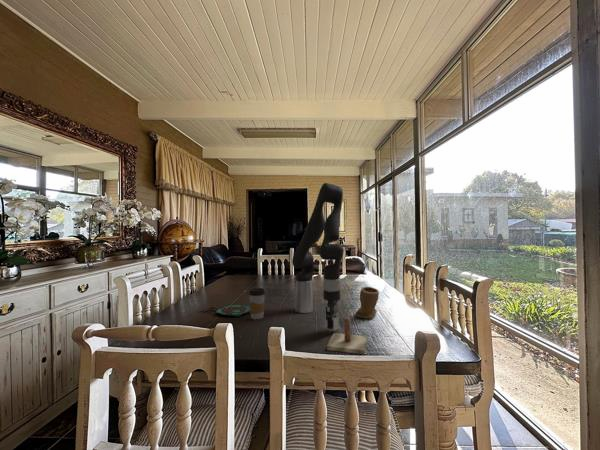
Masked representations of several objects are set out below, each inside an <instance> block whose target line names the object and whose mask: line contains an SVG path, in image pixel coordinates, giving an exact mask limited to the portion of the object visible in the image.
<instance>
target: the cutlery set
mask: <svg viewBox="0 0 600 450" xmlns="http://www.w3.org/2000/svg"><path fill="white" fill-rule="evenodd" d="M241 306H243V307H246V308H247V309H246V311H245V312H246V313H245V312H242V313H237V312H240V310H235V311H234V310H233V312H236V313H232V314H233V315H232V314H228V315H225V314H226V313H222V311H221V310H222V309H224V308H228V307H241ZM223 307H224V308H222V307H221V309H219V308H218V310H216V309H215V310H216V311H215V314H218V315H221V316H231V317H232V316H235V317H240V316H242V315H246V314H249V313H251V312H250V305H242V304H235V305H234V304H233V305H232V304H231V305H226V306H223ZM221 313H222V314H221Z"/></svg>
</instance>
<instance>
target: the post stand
mask: <svg viewBox="0 0 600 450" xmlns="http://www.w3.org/2000/svg"><path fill="white" fill-rule="evenodd" d="M343 319H344V320H343V322H344V324H343V325H344V330H343V331H344V333H339V332H338V333H337V332H333V334H332V336H331V337H330V339H329V341H328V343H327V344H326V351H334V352H341V353H350V354H351V353H352V354H358V355H359V354H360V355H364V354H365V352H366V346H367V342H368V336H366V335H359V334H358V335H357V334H351V331H352V330H351V317H347V316H345V317H344V318H343Z"/></svg>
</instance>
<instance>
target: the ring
mask: <svg viewBox="0 0 600 450" xmlns="http://www.w3.org/2000/svg"><path fill="white" fill-rule="evenodd" d="M329 317H330V315H329ZM339 327H340V316H339V315H333V329H328V320H326V314H325V316H324V328H325V329H326V330H330V331H335V330H336V331H337V330H339Z"/></svg>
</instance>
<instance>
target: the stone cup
mask: <svg viewBox="0 0 600 450" xmlns="http://www.w3.org/2000/svg"><path fill="white" fill-rule="evenodd" d="M379 295H380V293H379V290H378V289H377V288H374V287H371V286H365V287H362V288H361V289H360V293H359V302H360V307H359V308H358V309H357V310H356V312H355V317H357V318H360V319H361V318H362V319H373V318H374V317H375V316H376V314H377V312H378V310H377V309H376V305H377V303H378V300H379Z"/></svg>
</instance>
